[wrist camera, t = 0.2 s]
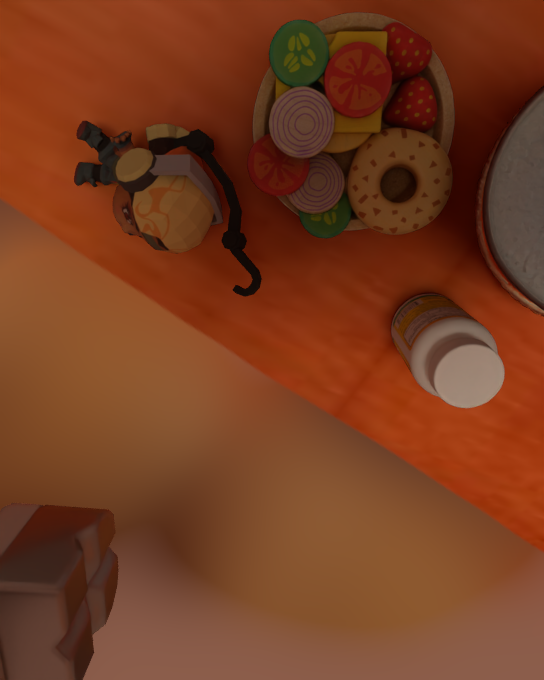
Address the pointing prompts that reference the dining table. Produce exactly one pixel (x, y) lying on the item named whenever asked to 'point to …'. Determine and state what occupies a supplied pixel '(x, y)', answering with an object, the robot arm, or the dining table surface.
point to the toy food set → (354, 126)
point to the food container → (515, 206)
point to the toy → (166, 189)
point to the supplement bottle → (447, 350)
